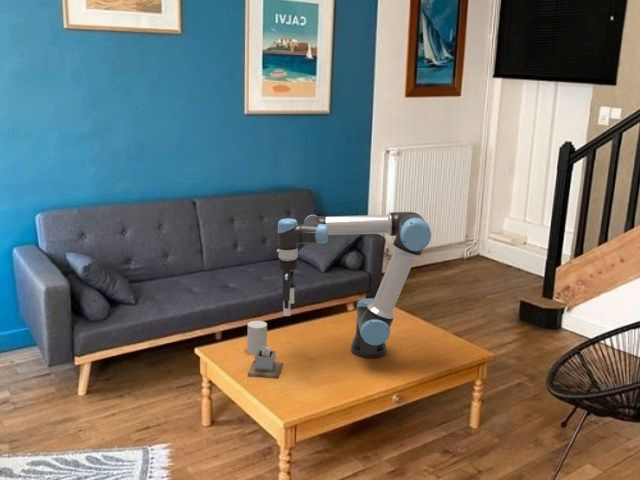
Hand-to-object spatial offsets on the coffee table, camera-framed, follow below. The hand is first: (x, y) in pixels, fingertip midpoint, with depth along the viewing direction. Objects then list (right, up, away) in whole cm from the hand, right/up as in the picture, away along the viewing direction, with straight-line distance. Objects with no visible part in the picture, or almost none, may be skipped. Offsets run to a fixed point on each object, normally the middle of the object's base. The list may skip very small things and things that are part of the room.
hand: (289, 309), depth 271 cm
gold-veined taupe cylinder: (-14, -20, +17) cm, 30 cm away
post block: (-9, -24, -1) cm, 26 cm away
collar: (-9, -23, -1) cm, 25 cm away
